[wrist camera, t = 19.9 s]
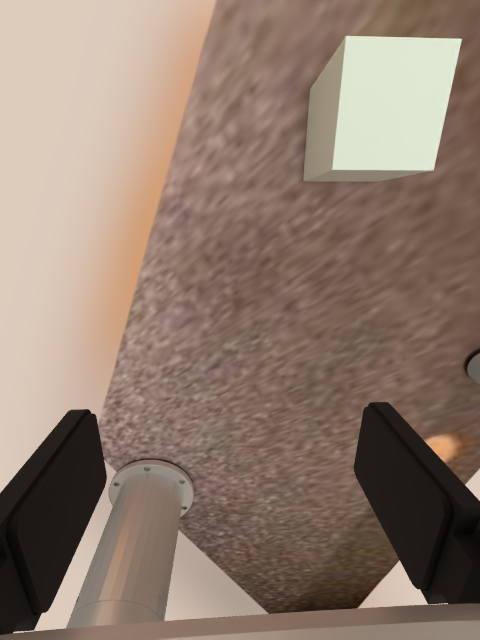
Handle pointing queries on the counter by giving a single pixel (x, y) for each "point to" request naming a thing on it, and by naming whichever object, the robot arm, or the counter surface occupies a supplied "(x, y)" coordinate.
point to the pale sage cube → (379, 108)
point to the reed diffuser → (474, 368)
